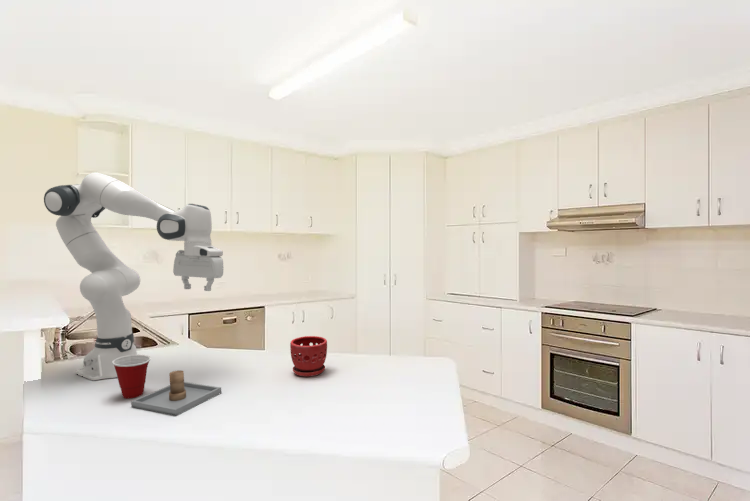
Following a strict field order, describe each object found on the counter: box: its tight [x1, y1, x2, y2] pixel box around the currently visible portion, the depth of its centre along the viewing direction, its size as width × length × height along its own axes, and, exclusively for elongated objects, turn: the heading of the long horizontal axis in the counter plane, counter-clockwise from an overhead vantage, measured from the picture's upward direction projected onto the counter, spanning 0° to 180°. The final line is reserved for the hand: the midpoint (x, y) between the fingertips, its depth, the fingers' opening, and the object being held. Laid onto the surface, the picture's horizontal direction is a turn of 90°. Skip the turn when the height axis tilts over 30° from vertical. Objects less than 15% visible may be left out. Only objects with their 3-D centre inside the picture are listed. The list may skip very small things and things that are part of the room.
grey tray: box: [130, 381, 222, 417], centre depth 134 cm, size 18×18×2 cm
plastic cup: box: [112, 354, 152, 399], centre depth 139 cm, size 11×11×12 cm
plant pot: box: [289, 335, 328, 377], centre depth 156 cm, size 13×13×12 cm
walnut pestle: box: [168, 370, 186, 401], centre depth 134 cm, size 5×5×8 cm
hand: (197, 290), depth 151 cm, fingers open, 8 cm apart
